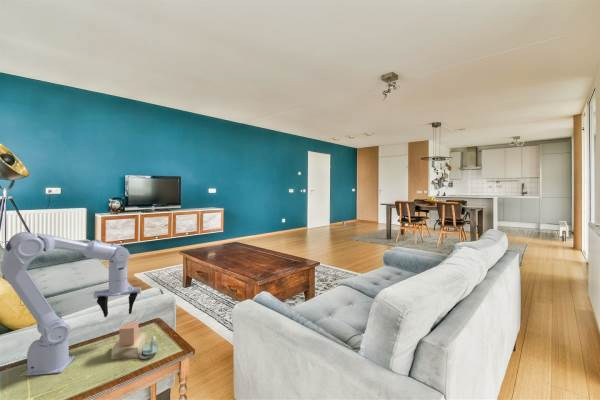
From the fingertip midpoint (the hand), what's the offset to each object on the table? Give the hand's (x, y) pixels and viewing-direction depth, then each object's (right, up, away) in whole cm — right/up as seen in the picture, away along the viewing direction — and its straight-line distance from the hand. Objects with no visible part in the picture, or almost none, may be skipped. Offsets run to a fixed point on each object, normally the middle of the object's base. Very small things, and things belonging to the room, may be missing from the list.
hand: (118, 314), depth 105 cm
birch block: (+7, -11, -5) cm, 14 cm away
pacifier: (+14, -12, -6) cm, 19 cm away
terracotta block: (+7, -8, -5) cm, 12 cm away
